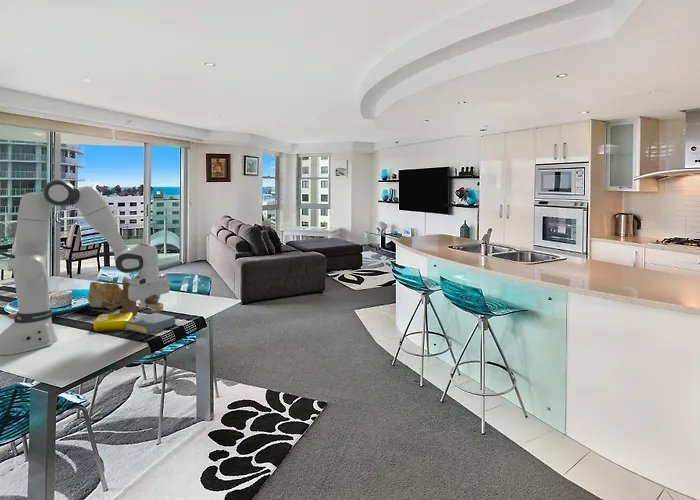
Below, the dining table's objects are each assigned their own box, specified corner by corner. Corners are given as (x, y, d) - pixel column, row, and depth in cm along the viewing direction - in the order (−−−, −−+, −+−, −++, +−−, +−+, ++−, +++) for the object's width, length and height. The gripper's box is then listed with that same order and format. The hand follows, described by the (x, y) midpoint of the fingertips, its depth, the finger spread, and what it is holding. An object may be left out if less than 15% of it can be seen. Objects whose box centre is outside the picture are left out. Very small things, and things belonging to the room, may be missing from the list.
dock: (146, 334, 202) (145, 326, 201) (126, 329, 208) (125, 321, 208) (175, 324, 216) (175, 316, 215) (155, 320, 222) (155, 312, 222)
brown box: (151, 304, 208) (150, 296, 207) (144, 303, 210) (143, 294, 210) (157, 303, 211) (156, 294, 210) (150, 301, 213) (149, 293, 212)
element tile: (128, 329, 210) (127, 319, 209) (92, 332, 205) (92, 322, 204) (133, 320, 224) (133, 311, 223) (100, 322, 219) (99, 313, 219)
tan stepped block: (155, 312, 206) (154, 306, 206) (138, 308, 212) (137, 302, 211) (163, 309, 210) (163, 303, 210) (146, 306, 216) (146, 300, 215)
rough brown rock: (138, 308, 245) (138, 281, 244) (107, 313, 231) (107, 284, 231) (115, 303, 258) (115, 277, 257) (85, 307, 244) (85, 280, 243)
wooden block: (128, 319, 223) (126, 284, 221) (119, 319, 223) (117, 284, 221) (137, 314, 232) (135, 280, 229) (128, 314, 232) (126, 280, 230)
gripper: (162, 272, 219) (164, 300, 221) (125, 280, 201) (127, 310, 203) (171, 274, 216) (173, 301, 218) (134, 282, 198) (136, 312, 200)
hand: (150, 305), depth 211 cm, fingers closed on tan stepped block, 5 cm apart
